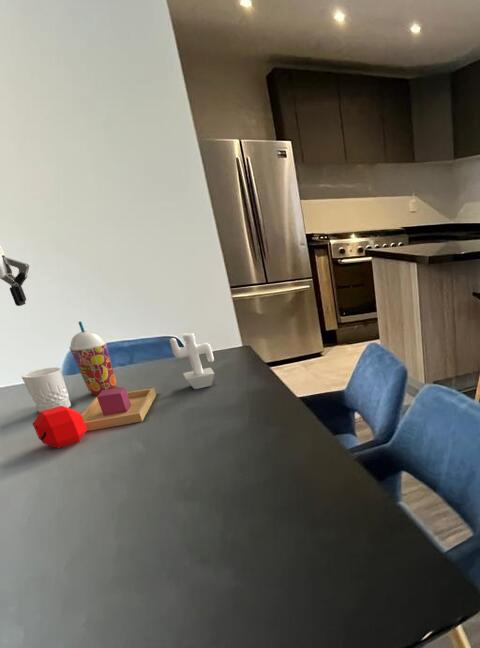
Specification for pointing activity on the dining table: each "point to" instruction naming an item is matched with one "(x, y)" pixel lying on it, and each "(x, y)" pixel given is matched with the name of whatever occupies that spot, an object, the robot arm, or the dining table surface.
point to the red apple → (59, 426)
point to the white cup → (47, 388)
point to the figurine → (195, 360)
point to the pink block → (114, 401)
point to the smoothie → (93, 361)
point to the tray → (135, 413)
